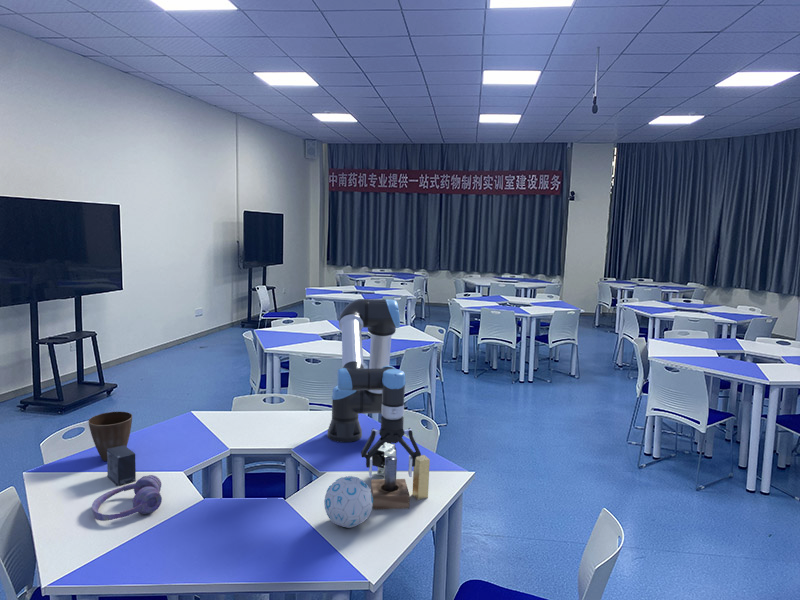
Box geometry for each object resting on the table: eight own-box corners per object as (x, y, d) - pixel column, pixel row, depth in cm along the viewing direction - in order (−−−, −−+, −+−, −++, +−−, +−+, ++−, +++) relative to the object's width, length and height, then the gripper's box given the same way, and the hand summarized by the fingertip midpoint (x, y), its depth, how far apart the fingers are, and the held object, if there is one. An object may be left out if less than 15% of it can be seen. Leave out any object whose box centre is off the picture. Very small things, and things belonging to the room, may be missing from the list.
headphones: (163, 488, 188) (98, 507, 181) (158, 466, 187) (93, 484, 179) (164, 515, 172) (92, 537, 164) (159, 491, 170) (86, 512, 162)
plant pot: (95, 469, 201) (93, 428, 199) (86, 456, 212) (84, 416, 210) (138, 459, 211) (137, 419, 209) (127, 446, 222) (126, 408, 220)
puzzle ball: (328, 510, 179) (329, 466, 177) (374, 512, 179) (375, 469, 177) (320, 536, 164) (320, 489, 162) (370, 538, 164) (371, 491, 162)
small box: (137, 481, 194) (136, 452, 193) (118, 486, 189) (116, 458, 188) (125, 471, 201) (124, 443, 200) (106, 476, 197) (105, 448, 195)
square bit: (412, 494, 192) (414, 456, 190) (422, 492, 194) (424, 454, 192) (417, 499, 188) (419, 461, 186) (428, 497, 190) (429, 459, 188)
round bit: (383, 494, 189) (384, 455, 187) (394, 493, 190) (396, 455, 188) (384, 500, 185) (385, 461, 183) (396, 499, 186) (397, 460, 184)
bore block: (370, 491, 193) (371, 479, 192) (404, 490, 194) (404, 478, 194) (373, 509, 181) (373, 496, 180) (409, 508, 182) (409, 495, 182)
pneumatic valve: (369, 478, 202) (370, 447, 201) (385, 467, 213) (386, 437, 211) (382, 482, 200) (384, 451, 198) (398, 470, 210) (399, 440, 208)
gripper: (355, 420, 178) (354, 481, 181) (431, 419, 181) (428, 479, 184) (354, 412, 186) (353, 471, 189) (427, 411, 189) (424, 469, 192)
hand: (390, 475), depth 187 cm, fingers open, 13 cm apart
